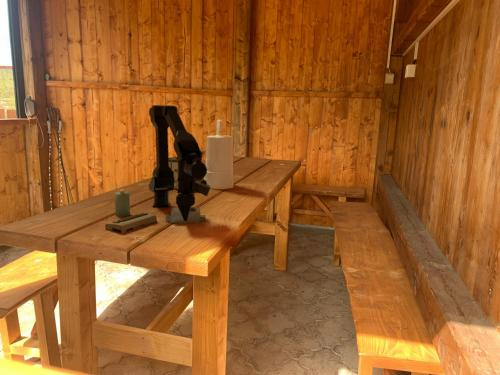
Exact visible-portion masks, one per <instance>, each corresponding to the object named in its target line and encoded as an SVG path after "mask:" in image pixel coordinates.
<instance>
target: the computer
mask: <svg viewBox="0 0 500 375" xmlns="http://www.w3.org/2000/svg"><path fill="white" fill-rule="evenodd" d="M157 221H158V219H157V214H154V213H148V212H147V213H145V212H141V213H137V214H133V215H128V216H125V217H124V218H120V219H117V220H114V221H110V222H107V223H105V224H104V227H105V229H106V230H108V231H111V232H117V233H119V234H124V233H127V231H131V230H136V229H140V228H144V227H145V226H147V225H151V224H153V223H157Z"/></svg>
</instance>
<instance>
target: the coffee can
mask: <svg viewBox="0 0 500 375" xmlns="http://www.w3.org/2000/svg"><path fill="white" fill-rule="evenodd" d="M176 158H177V156H175V157H169V167H170V168H171V170H173V172H174V179H175V183H174V189H178V181H177V178H178V160H176Z"/></svg>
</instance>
